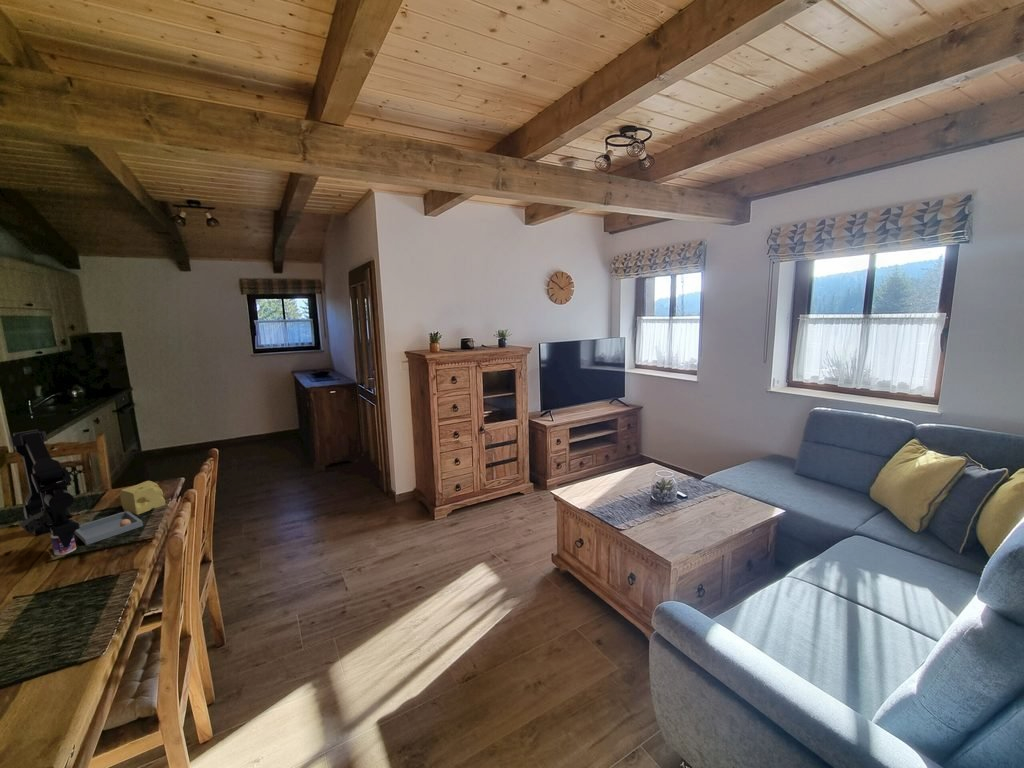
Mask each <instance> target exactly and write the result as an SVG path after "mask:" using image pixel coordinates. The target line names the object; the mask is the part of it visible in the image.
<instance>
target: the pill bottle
mask: <svg viewBox="0 0 1024 768" xmlns="http://www.w3.org/2000/svg"><path fill="white" fill-rule="evenodd" d="M75 538H76V537H75V534H74V535H73V537H72V540H71V542H70V545H69V547H66V548H64V546H63V545H62V543H61V541H60V539H59V537H58V536H53V535H52V534H51V533H50V541H51V545H52V551H53V555H55V556H63V555H68V554H69V553H72V552H74V551H76V549H77V544H76V540H75Z"/></svg>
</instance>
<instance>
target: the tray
mask: <svg viewBox="0 0 1024 768" xmlns="http://www.w3.org/2000/svg"><path fill="white" fill-rule="evenodd" d="M124 519H129V520H130V521H131V524H128V525H125V526H122V527H120V522H121V521H122V520H124ZM79 526H80V528H79V529H77V530H75V533H74V536H77V538H78V539H79V540H80V541H81V542H83V543H84V544H85V546H87V545H88V546H89V545H91V544H95V543H97V542H101V541H104V540H105V539H109V538H112V537H114V536H115V537H116V536H117V535H120V534H123V533H126V532H129V531H132V530H135V529H137V528H141V527H143V526H144V522H143V520H142V519H140V518H139V517H137V515H136V514H134V513H131V512H129V511H124V510H123V511H121V512H118V513H115V514H112V515H109V516H105V517H102V518H99V519H96V520H92V521H89V522H86V523H83V524H79Z"/></svg>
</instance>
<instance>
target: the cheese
mask: <svg viewBox="0 0 1024 768" xmlns="http://www.w3.org/2000/svg"><path fill="white" fill-rule="evenodd" d="M163 495H164V492H163V490H162V488H161V487H160V486H159V484H157V483H156V482H154V481H151V480H146V481H143V482H141V483H138V484H134V485H132V486H129V487H126V488H122V489H120V495H119V496H120V498H119V499H120V503H121V507H122V509H123V512H124V511H129V512H130V513H132V514H133V515H135V516H137V515H140V514H144V513H146V512H149V511H151V510H152V509H157V508H160V507H162V506H166V499H165V498H164V497H163Z"/></svg>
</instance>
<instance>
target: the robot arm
mask: <svg viewBox="0 0 1024 768" xmlns="http://www.w3.org/2000/svg"><path fill="white" fill-rule="evenodd" d="M8 440H9V441H8V442H9V444H10V447H12V448H13V449H14V451H16V453H18V454H19V455H20V456H22V461H23V466H24V471H25V475H26V480H27V484H28V485H27V486H28V490H29V492H28V494H27V495H26V497H25V499H24V501H25V505H23V515H24V520H23V521H20V522H19V525H20V527H21V528H22V529H23V530H24V531H25V532H26V533H27V534H31V533H32V534H33V535H34V536H35V537H37V536H41V535H43V534H44V535H45V534H47V533H50V535H51V534H52V535H53V536H58V537H59V539H60V541H61V543H62V545H63V546H64V548H66V547H69V545H70V542H71V540H72V537H73V535H74V536H75V534H74V533H75V530H77V529H79V528H80V526H79V525H80V523H79V521H77V520H76V519H72V518H73V514H72V513H71V512H70V507H71V506H72V505H73V504H74V501H75V499H74V496H73V494H71V493H70V492H69V491H68V490H66V487H68V486H72V484H71V482H72V481H73V479H72V477H71V475H70V472H69V469H68V468H66V467H65V466H62V464H61V463H60V461H59V460H56V459H53V458H52V456H51V454H50V451H49V450H48V448H47V445H46V443H45V442H48V437H47V433H46V431H45V430H44V431H43V430H42V431H40V430H39V429H31V430H27V431H20V432H13V433H12V435H11V436H10V437H9V436H8Z"/></svg>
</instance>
